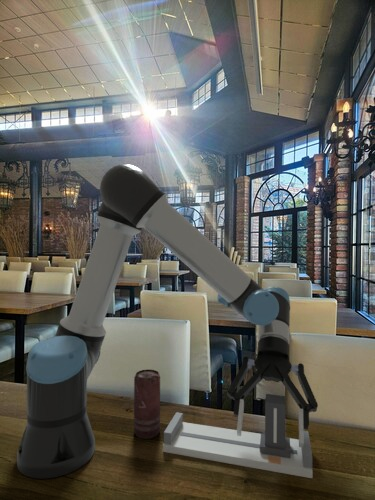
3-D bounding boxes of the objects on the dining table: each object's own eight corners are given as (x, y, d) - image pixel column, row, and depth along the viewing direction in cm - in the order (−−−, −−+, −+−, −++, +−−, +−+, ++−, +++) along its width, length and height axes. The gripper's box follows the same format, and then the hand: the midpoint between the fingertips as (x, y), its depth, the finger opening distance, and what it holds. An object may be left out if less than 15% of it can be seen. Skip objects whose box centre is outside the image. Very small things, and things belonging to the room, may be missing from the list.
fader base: (163, 451, 70) (163, 433, 70) (176, 427, 80) (177, 411, 80) (312, 478, 62) (312, 457, 62) (307, 447, 72) (308, 430, 72)
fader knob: (259, 452, 67) (260, 402, 67) (261, 438, 72) (261, 392, 72) (290, 457, 66) (290, 406, 66) (289, 443, 71) (289, 395, 71)
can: (156, 441, 74) (157, 379, 74) (130, 437, 75) (130, 376, 75) (164, 427, 80) (164, 369, 80) (139, 424, 81) (139, 367, 81)
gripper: (323, 356, 80) (330, 456, 66) (226, 345, 87) (213, 434, 72) (327, 340, 75) (336, 445, 61) (224, 329, 82) (209, 422, 67)
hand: (269, 439), depth 66 cm, fingers open, 11 cm apart
